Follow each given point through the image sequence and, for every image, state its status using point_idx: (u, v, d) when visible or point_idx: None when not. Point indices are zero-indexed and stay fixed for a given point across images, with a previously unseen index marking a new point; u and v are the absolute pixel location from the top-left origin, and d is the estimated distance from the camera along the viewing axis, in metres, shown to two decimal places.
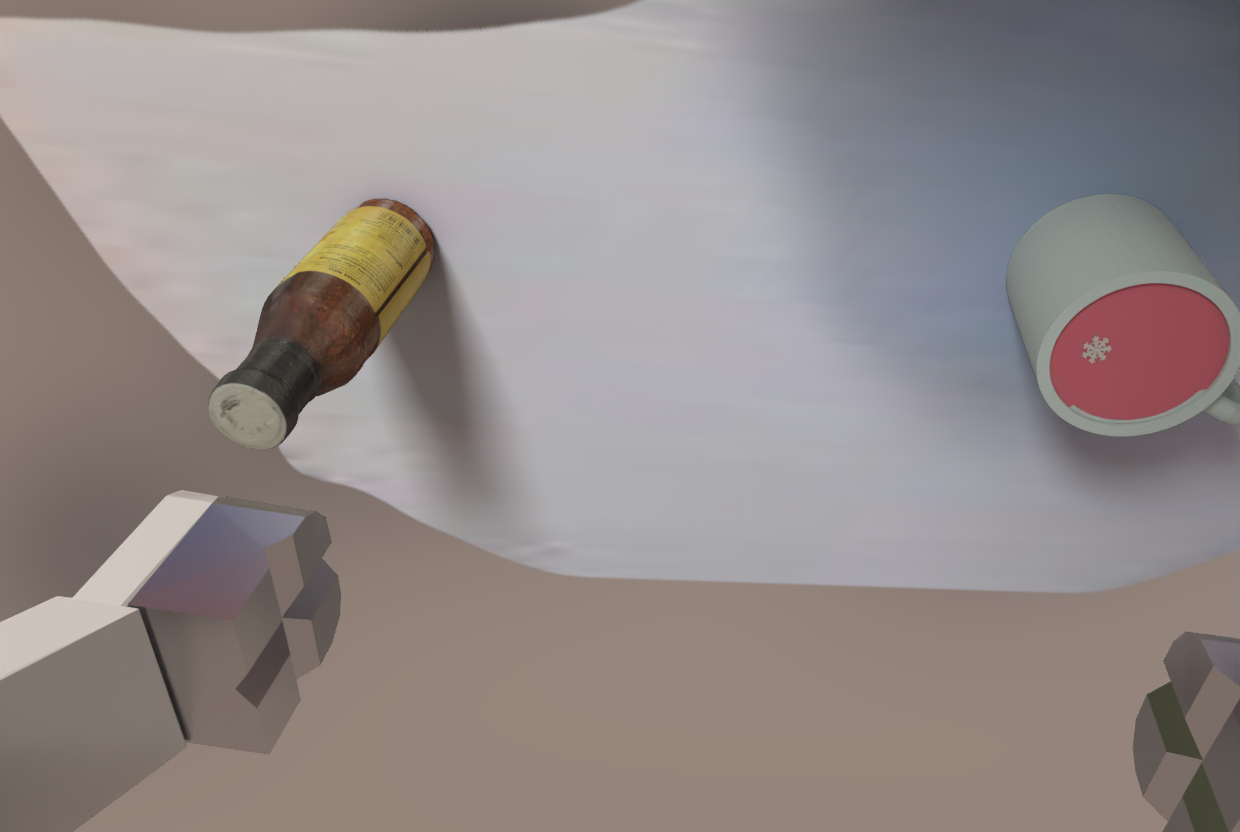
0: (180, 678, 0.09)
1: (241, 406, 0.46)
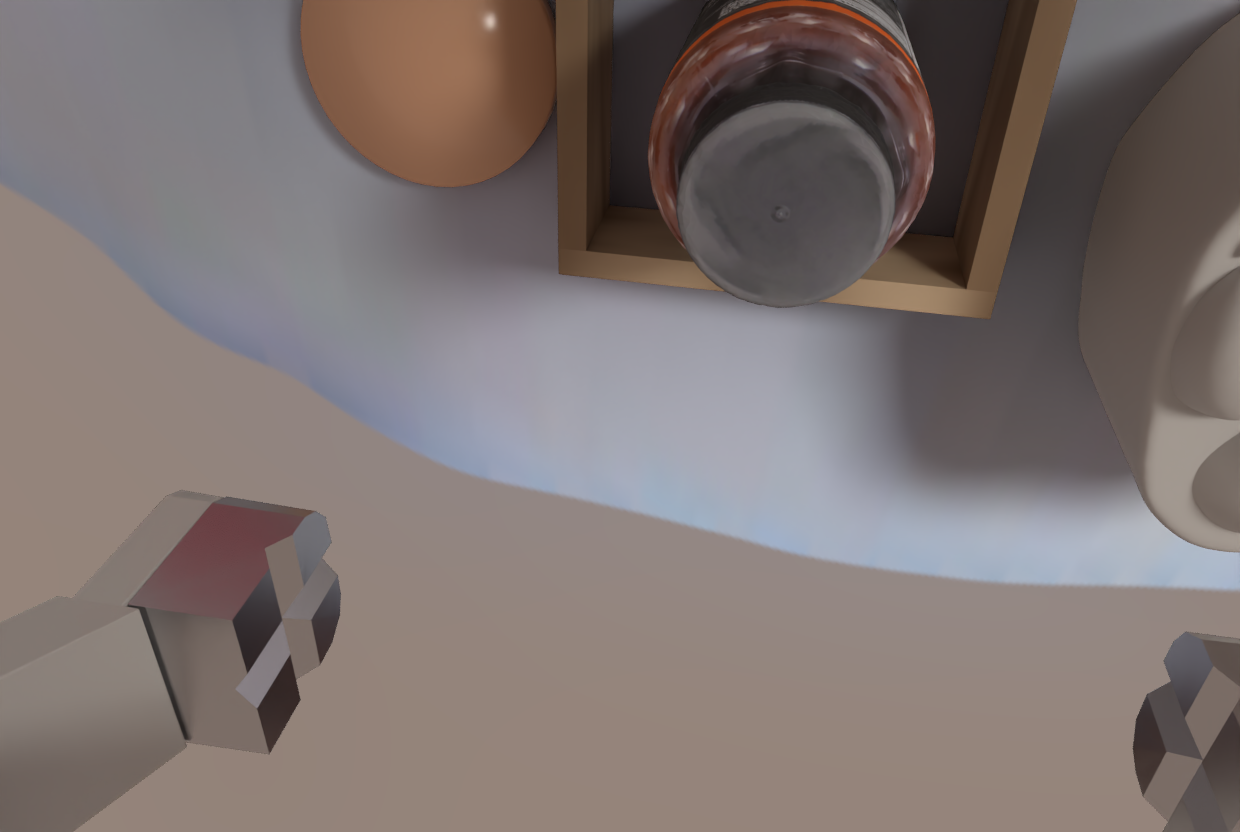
0: (180, 678, 0.09)
1: None
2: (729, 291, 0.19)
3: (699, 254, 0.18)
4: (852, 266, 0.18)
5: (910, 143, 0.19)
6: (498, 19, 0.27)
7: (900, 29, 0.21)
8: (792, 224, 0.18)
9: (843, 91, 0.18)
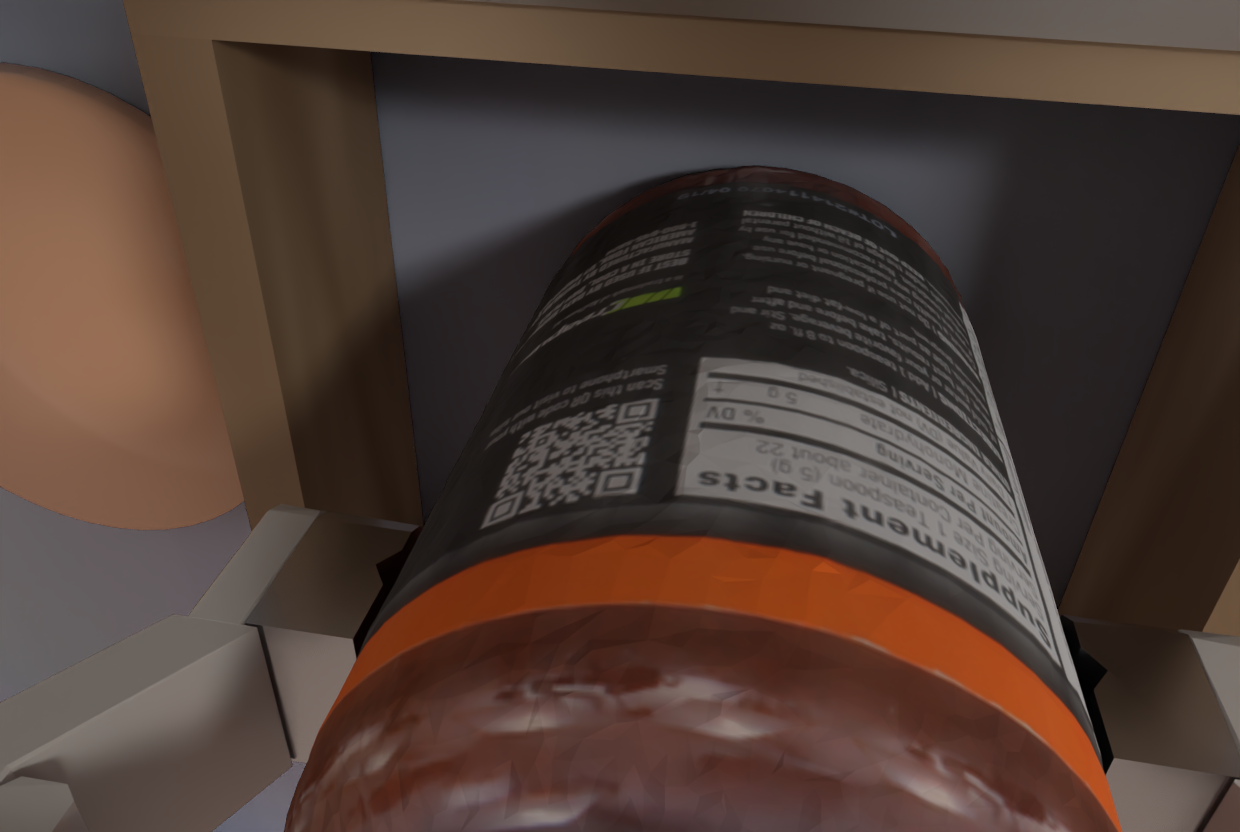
0: (292, 697, 0.08)
1: None
2: None
3: None
4: None
5: None
6: (165, 274, 0.14)
7: (995, 463, 0.08)
8: None
9: None
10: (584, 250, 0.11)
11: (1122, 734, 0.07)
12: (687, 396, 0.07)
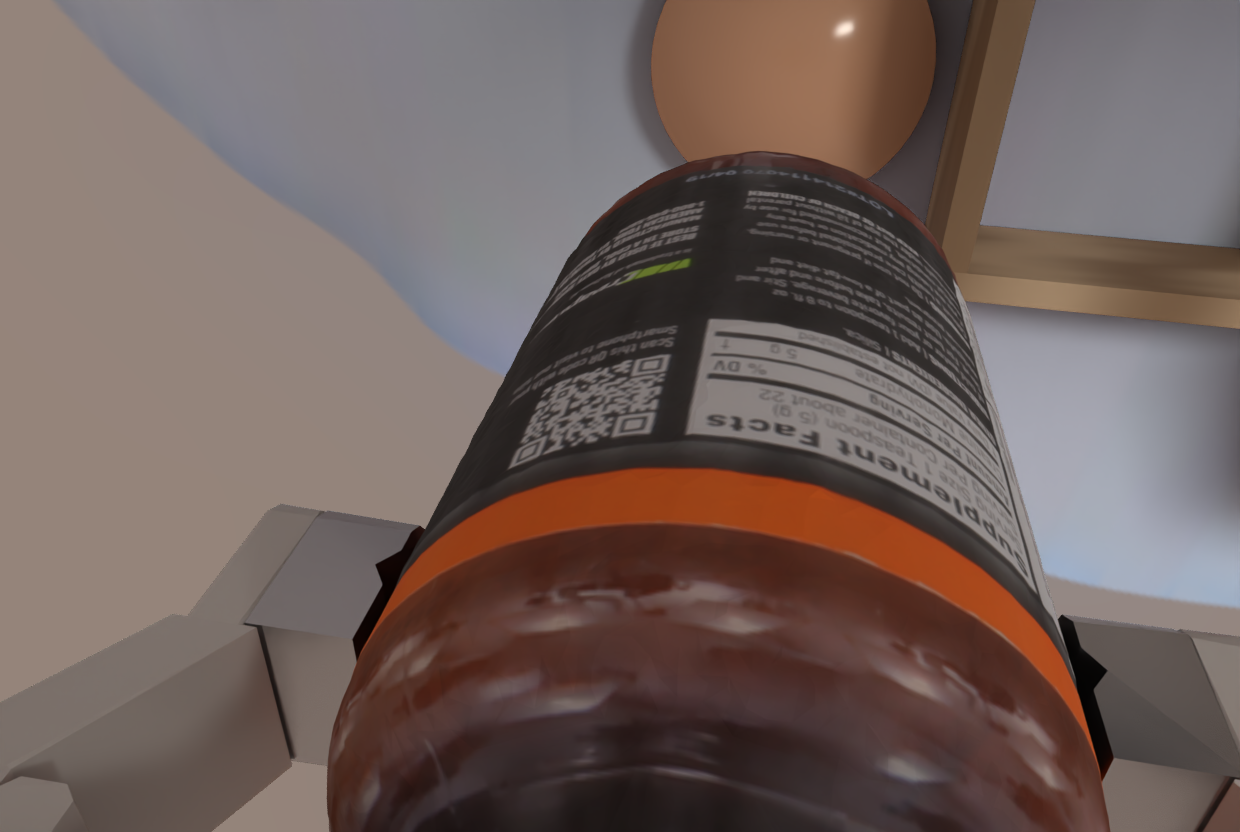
0: (292, 696, 0.08)
1: None
2: None
3: None
4: None
5: None
6: (880, 27, 0.25)
7: (982, 420, 0.09)
8: None
9: None
10: (598, 230, 0.12)
11: (1122, 734, 0.07)
12: (696, 351, 0.08)
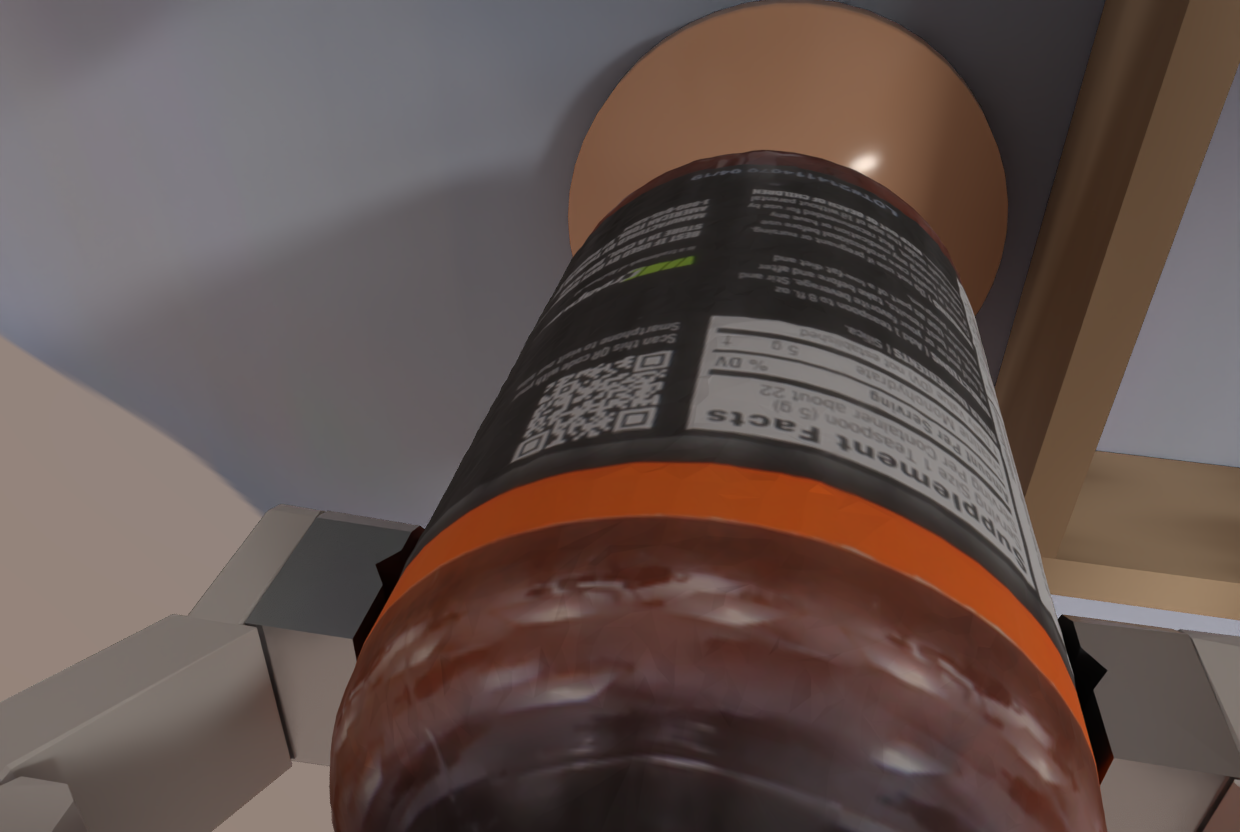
0: (292, 697, 0.08)
1: None
2: None
3: None
4: None
5: None
6: (920, 180, 0.16)
7: (983, 417, 0.09)
8: None
9: None
10: (603, 228, 0.12)
11: (1122, 734, 0.07)
12: (698, 347, 0.08)
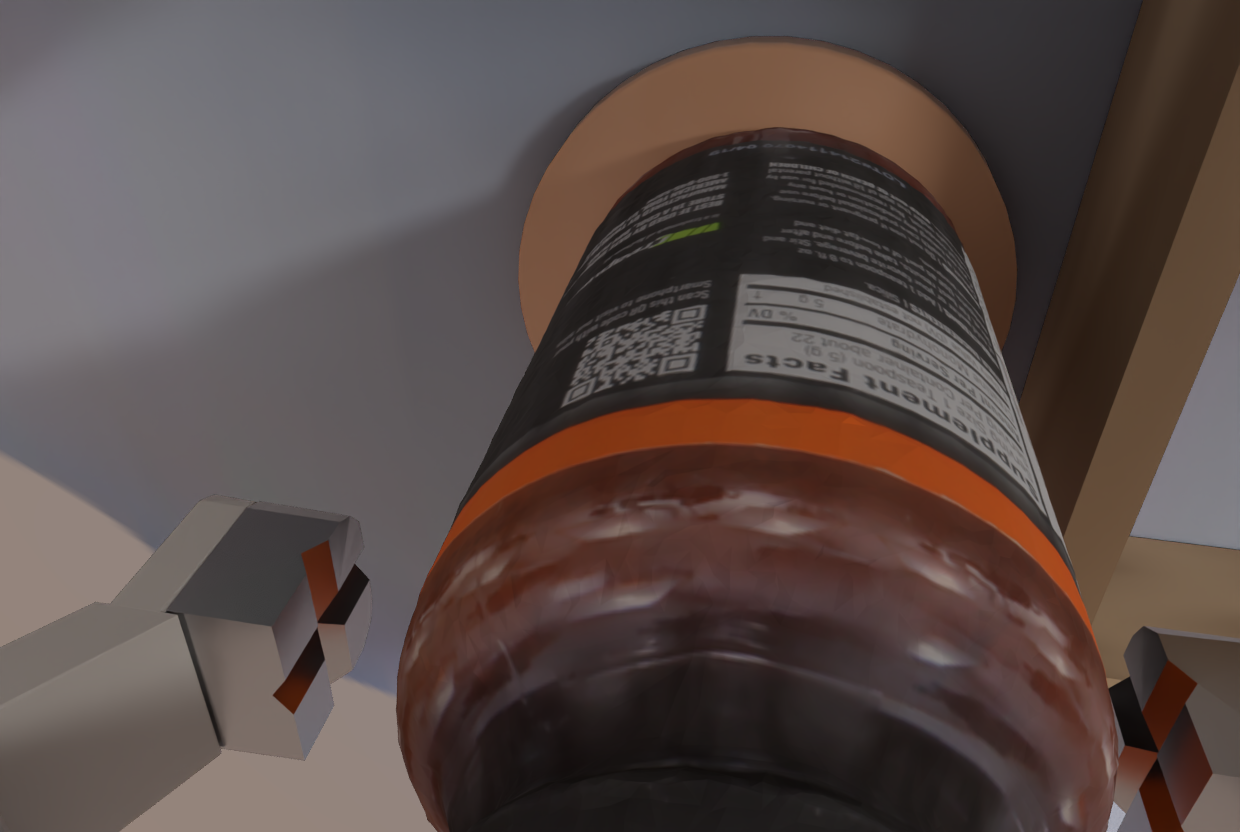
0: (217, 684, 0.09)
1: None
2: None
3: None
4: None
5: (1065, 818, 0.07)
6: None
7: (993, 368, 0.10)
8: None
9: (885, 757, 0.06)
10: (625, 203, 0.13)
11: (1219, 749, 0.07)
12: (730, 301, 0.09)
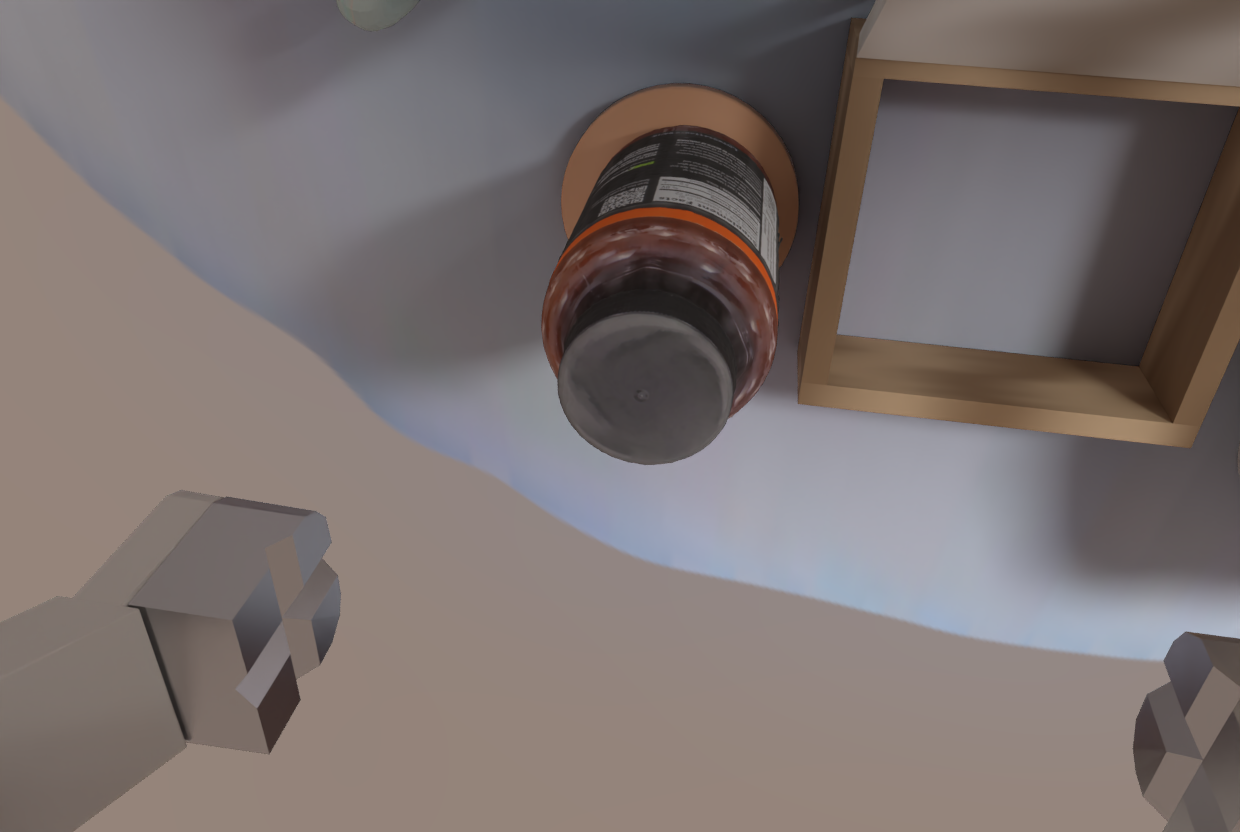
0: (180, 678, 0.09)
1: None
2: (605, 452, 0.23)
3: (578, 424, 0.22)
4: (701, 435, 0.22)
5: (753, 328, 0.23)
6: None
7: (756, 214, 0.25)
8: (650, 403, 0.22)
9: (692, 292, 0.22)
10: (615, 158, 0.29)
11: None
12: (656, 184, 0.24)
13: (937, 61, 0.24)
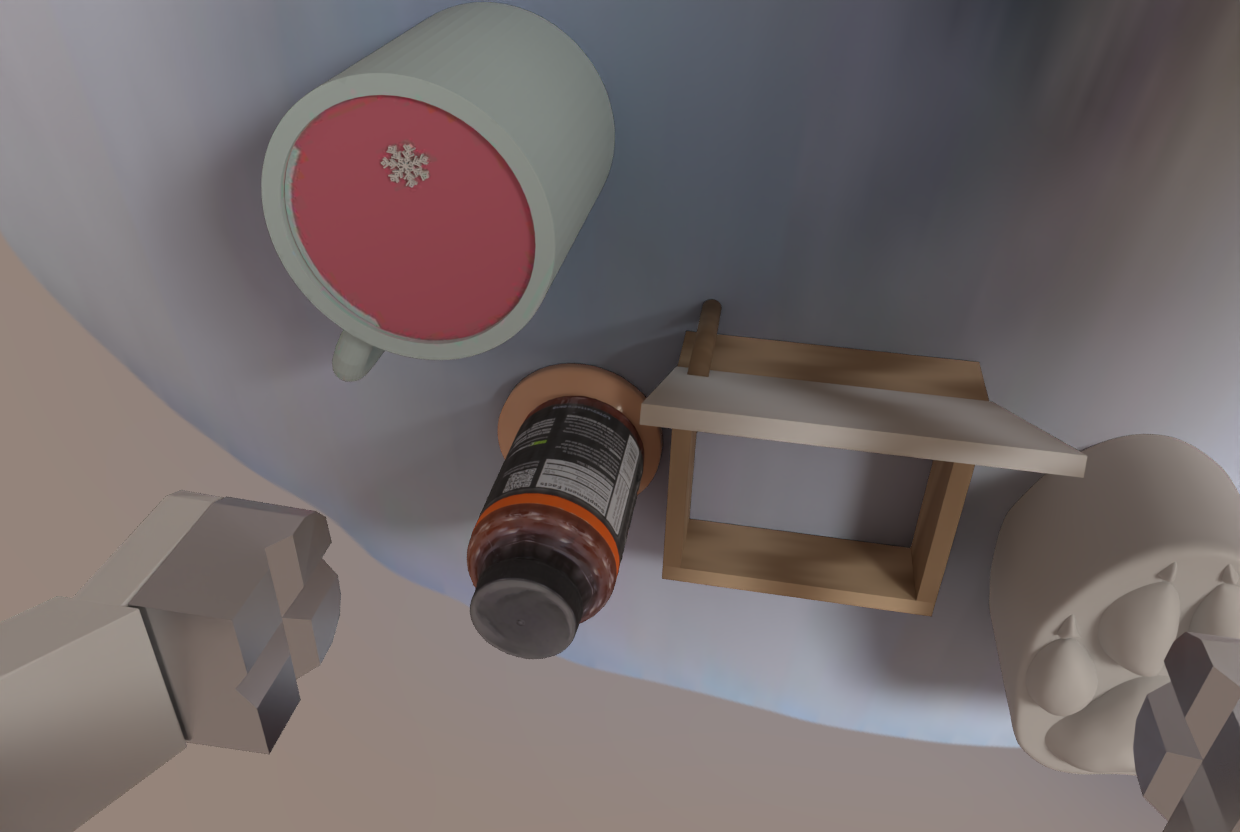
0: (180, 678, 0.09)
1: None
2: None
3: (484, 635, 0.36)
4: (559, 645, 0.35)
5: (595, 573, 0.36)
6: None
7: (611, 479, 0.39)
8: (526, 626, 0.35)
9: (553, 557, 0.35)
10: (528, 420, 0.42)
11: None
12: (542, 467, 0.38)
13: None
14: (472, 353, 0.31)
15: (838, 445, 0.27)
